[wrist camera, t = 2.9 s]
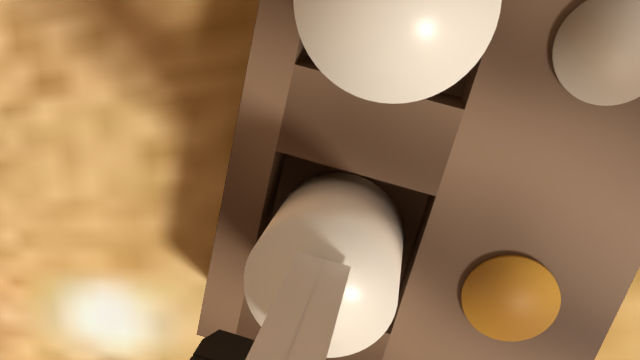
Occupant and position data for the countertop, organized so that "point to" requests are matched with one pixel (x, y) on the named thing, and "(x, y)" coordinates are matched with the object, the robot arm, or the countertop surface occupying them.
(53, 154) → the countertop surface
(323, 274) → the robot arm
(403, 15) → the button
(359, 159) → the board
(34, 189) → the countertop surface
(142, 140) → the countertop surface
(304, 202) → the button
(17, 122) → the countertop surface
